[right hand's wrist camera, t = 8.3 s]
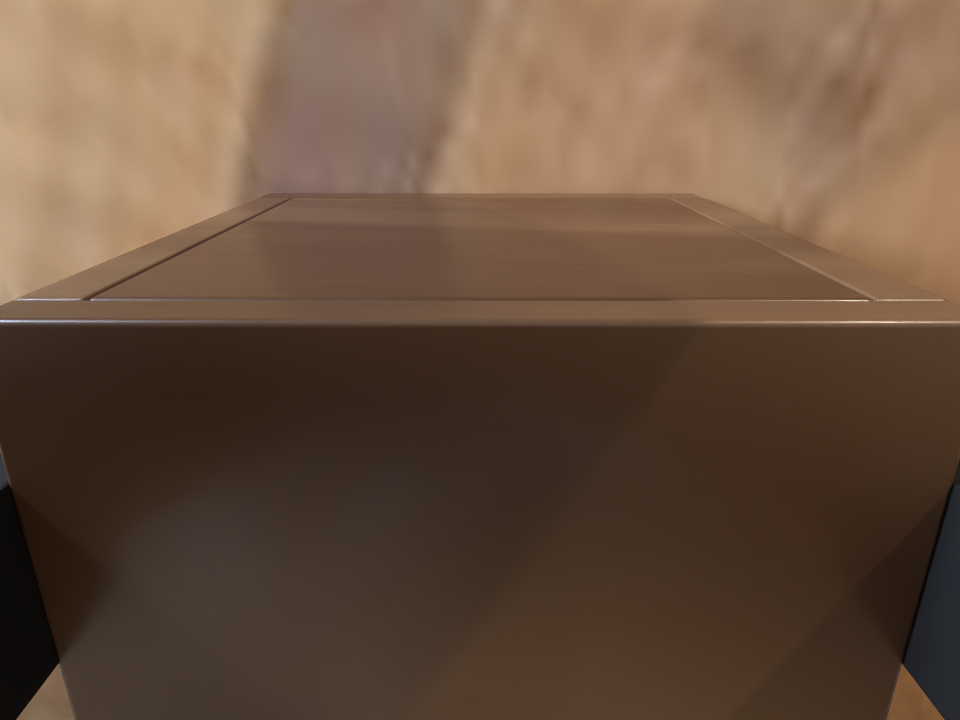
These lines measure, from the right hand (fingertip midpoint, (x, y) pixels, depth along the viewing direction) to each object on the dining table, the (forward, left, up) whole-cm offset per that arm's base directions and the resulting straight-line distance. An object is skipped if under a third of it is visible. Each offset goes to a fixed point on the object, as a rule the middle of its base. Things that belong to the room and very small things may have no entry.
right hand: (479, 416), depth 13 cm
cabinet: (+4, -6, -6) cm, 10 cm away
